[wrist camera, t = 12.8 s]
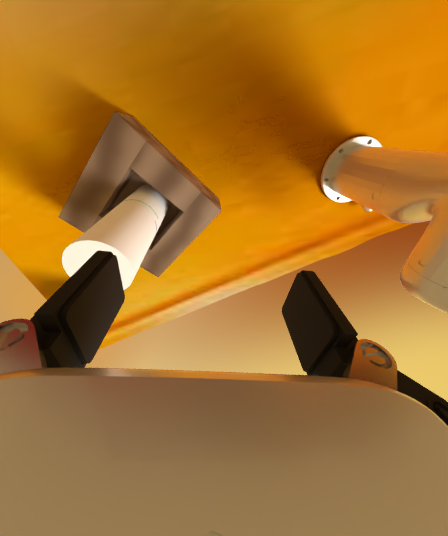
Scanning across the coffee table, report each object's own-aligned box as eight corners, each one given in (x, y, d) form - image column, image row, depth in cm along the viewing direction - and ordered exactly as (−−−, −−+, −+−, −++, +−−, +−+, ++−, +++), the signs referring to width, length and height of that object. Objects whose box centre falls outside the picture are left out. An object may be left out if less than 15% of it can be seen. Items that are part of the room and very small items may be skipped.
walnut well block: (219, 199, 43) (221, 210, 37) (164, 258, 51) (158, 277, 45) (132, 115, 34) (114, 111, 28) (81, 203, 42) (58, 217, 35)
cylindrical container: (137, 217, 44) (76, 293, 23) (131, 183, 39) (49, 239, 19) (170, 218, 44) (138, 293, 24) (167, 185, 40) (126, 241, 20)
